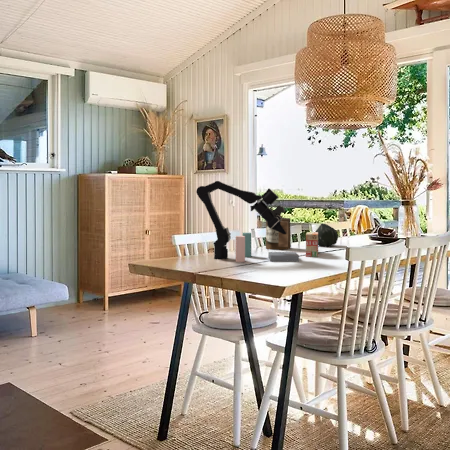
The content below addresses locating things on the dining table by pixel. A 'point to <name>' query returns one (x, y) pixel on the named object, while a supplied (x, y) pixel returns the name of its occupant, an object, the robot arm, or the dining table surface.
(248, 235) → the muted teal block
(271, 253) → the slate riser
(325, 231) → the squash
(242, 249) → the dusty pink block
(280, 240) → the walnut block
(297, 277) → the dining table surface
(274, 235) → the wooden container
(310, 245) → the stack of blocks
